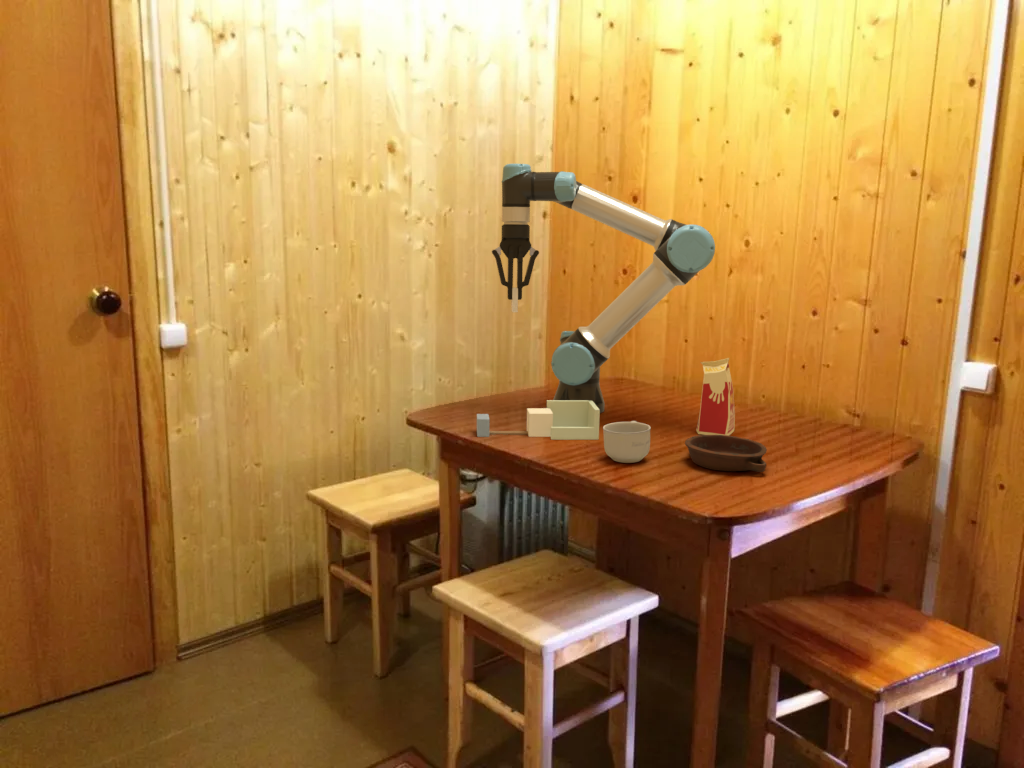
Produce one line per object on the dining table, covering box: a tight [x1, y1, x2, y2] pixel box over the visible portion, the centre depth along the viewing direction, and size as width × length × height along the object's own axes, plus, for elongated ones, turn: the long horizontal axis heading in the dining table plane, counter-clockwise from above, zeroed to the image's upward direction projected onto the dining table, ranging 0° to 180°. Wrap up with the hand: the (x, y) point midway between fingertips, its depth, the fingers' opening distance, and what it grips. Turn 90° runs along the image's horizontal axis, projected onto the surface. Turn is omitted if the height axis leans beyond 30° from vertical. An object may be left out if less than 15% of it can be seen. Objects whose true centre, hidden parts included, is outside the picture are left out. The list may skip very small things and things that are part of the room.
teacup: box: [602, 420, 652, 464], centre depth 187 cm, size 14×11×8 cm
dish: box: [684, 434, 768, 473], centre depth 184 cm, size 18×22×5 cm
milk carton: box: [695, 357, 736, 436], centre depth 211 cm, size 9×9×20 cm
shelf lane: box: [546, 399, 601, 441], centre depth 207 cm, size 12×11×8 cm
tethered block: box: [476, 407, 553, 438], centre depth 207 cm, size 19×6×6 cm, turn 94°
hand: (514, 311), depth 221 cm, fingers closed
